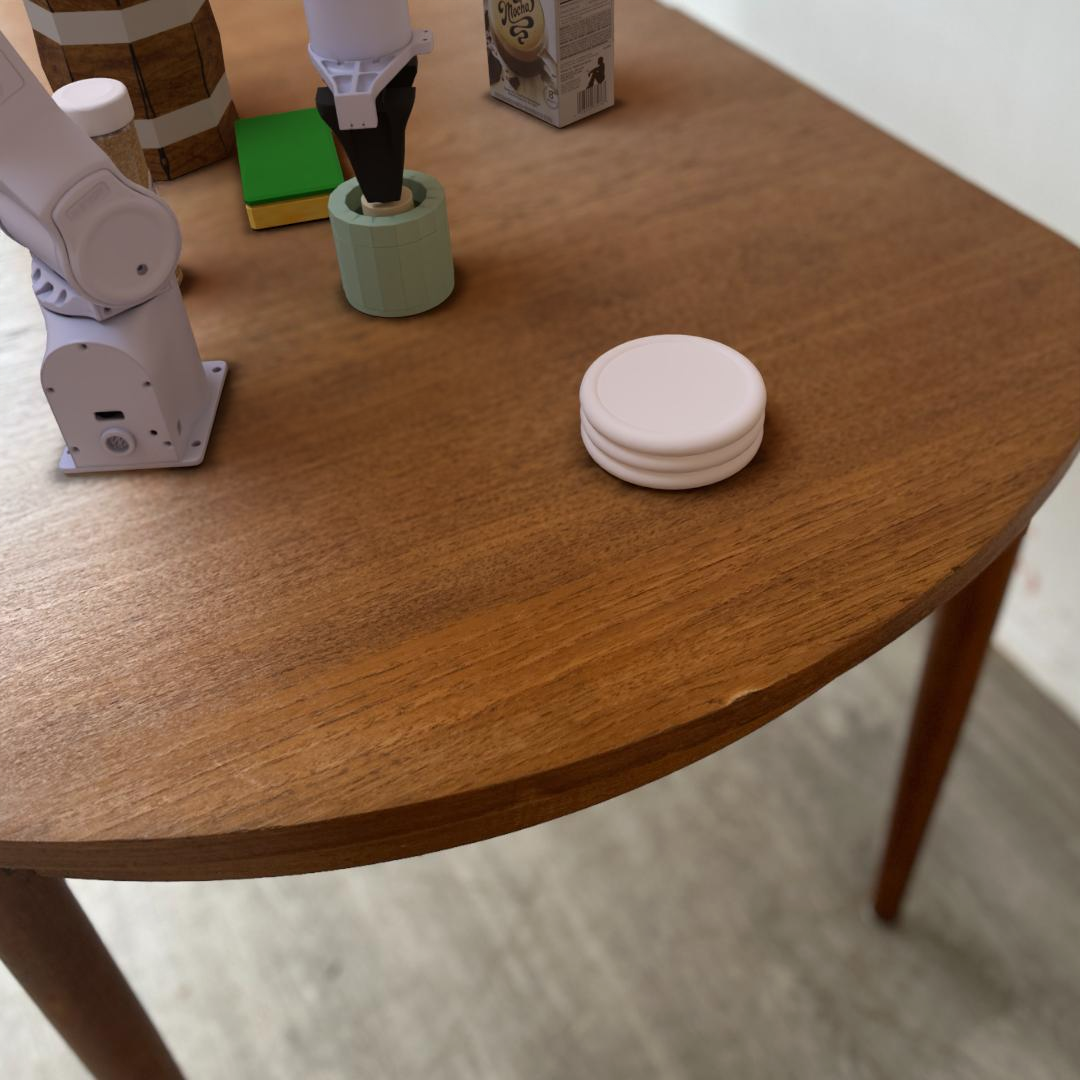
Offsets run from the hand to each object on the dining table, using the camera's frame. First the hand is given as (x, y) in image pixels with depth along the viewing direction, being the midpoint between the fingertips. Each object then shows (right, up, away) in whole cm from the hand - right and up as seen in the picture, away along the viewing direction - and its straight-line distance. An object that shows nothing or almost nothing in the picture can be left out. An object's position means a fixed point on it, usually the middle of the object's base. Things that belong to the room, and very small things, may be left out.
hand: (385, 190), depth 74 cm
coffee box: (+11, +14, +24) cm, 30 cm away
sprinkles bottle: (-17, -5, +7) cm, 19 cm away
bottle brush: (0, -2, +2) cm, 3 cm away
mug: (-22, +12, +24) cm, 35 cm away
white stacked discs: (+17, -16, -8) cm, 24 cm away
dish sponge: (-9, +5, +17) cm, 20 cm away
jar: (0, -5, +5) cm, 7 cm away
